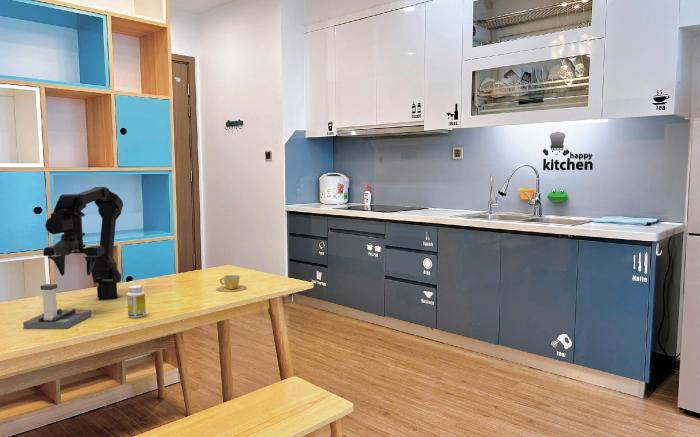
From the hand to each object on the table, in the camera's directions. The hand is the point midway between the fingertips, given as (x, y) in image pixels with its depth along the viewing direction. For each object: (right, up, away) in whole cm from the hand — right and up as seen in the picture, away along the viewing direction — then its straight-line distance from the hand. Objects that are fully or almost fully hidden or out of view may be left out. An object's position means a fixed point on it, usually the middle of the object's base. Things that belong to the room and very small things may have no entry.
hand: (75, 275), depth 177 cm
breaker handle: (0, -12, -15) cm, 19 cm away
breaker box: (0, -14, -12) cm, 18 cm away
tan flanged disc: (+46, -10, +35) cm, 59 cm away
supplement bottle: (+23, -14, -4) cm, 27 cm away
